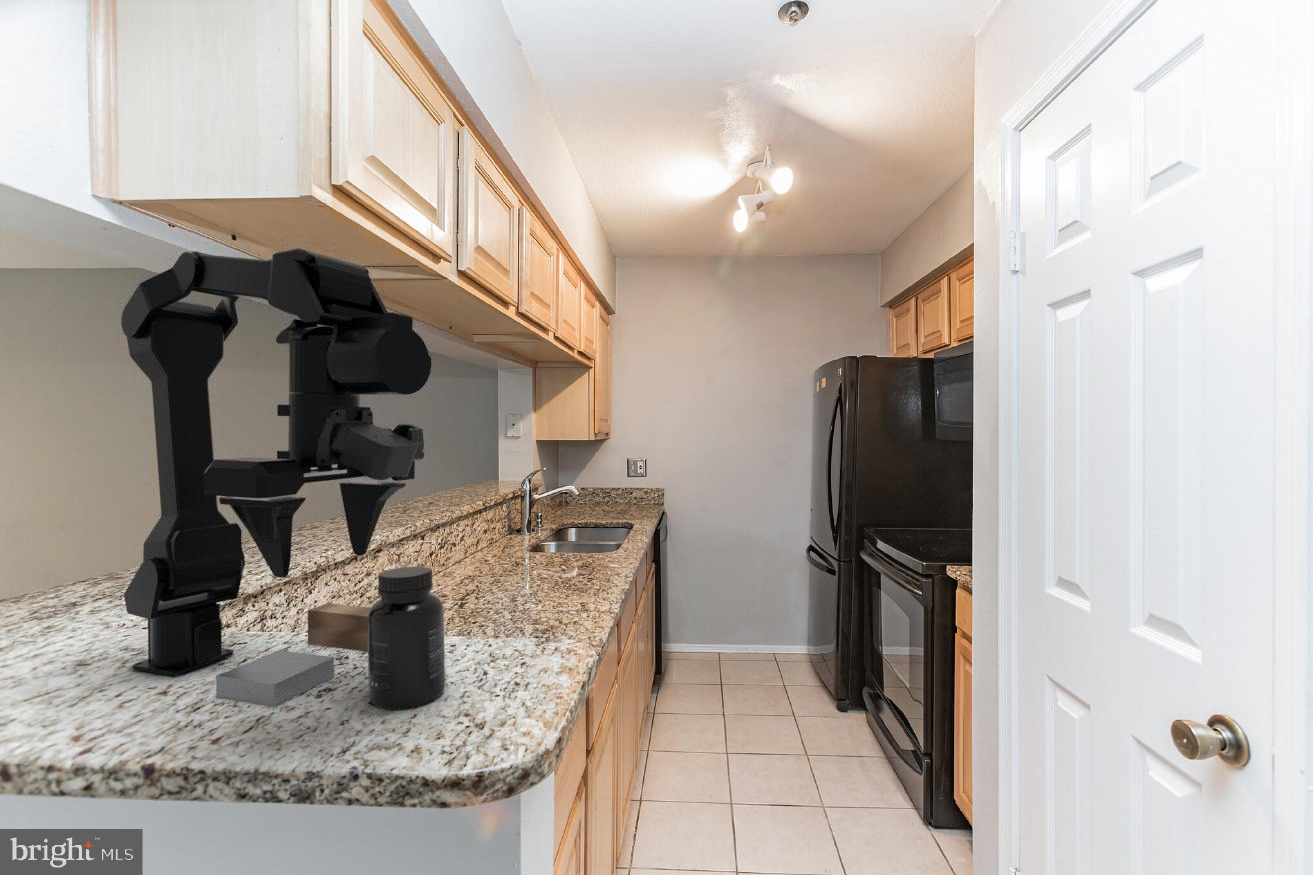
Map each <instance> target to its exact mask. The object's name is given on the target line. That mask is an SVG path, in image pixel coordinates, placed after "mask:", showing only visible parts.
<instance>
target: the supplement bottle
mask: <svg viewBox="0 0 1313 875" xmlns="http://www.w3.org/2000/svg"><path fill="white" fill-rule="evenodd" d="M377 578H378V589H377V594H378V596H380V598H379V599H378V600H376V601H375V602H374V603H372V605H371V606H370V610H369V612H368V617H367V618H368V619H367V626H368V651H367V662H368V663H367V664H368V696H369V700H370V703H372V704H373V705H374V706H375V707H377V708H379V709H385V710H404V709H410V708H415V707H418V706H422V705H425V704H427V703H429V702H431V701H433V700H435V699H436V698H437V697H439V696H440V695H441V693H442V692H443V691H444V689H445V685H446V681H445V680H446V659H445V658H446V655H445V611H444V608H445V607H444V603H443V601H442V600H441V599H440V598H439V597H438V596H437V595H435V594H433V593H431V591H432V590H433V589H434V582H433V570H432V568H430V567H428V566H427V567H425V566H404V567H403V566H401V567H397V568H391V569H387V570H384V571H381V572H379V574H378V577H377Z"/></svg>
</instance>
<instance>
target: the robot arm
mask: <svg viewBox="0 0 1313 875" xmlns="http://www.w3.org/2000/svg"><path fill="white" fill-rule="evenodd" d="M369 274H370V272H369V269H368V268H366V267H365V266H363V265H360V264H358V263H354V262H351V261H347V260H343V259H338V258H336V257H333V256H328V255H325V254H322V253H318V252H314V251H309V250H307V249H303V248H292V249H286V250H283V251H277V252H274V253H272V255H271V259H266V260H265V259H256V258H255V259H254V258H245V257H234V256H222V255H215V254H214V255H213V254H209V253H204V252H200V251H196V250H195V251H194V250H193V251H191V252H190V251H185V252H183V253H181V254H180V255H179V257H178V258H177V260H176V261H175V263H174V264H173V266H172V267H170V268H169V269H167V270H165V271H162V272H160V273H157V275H154V276H152V277H150V278H148V279H146V280H143V281H142V282H140V283H139V284H138V285H137V287H136V289H135V291H134V292H133V294H132V295H131V297H130V298H129V300H128V301H127V303H126V304H125V306H124V309H122V310H123V311H122V313H121V318H120V322H121V324H120V325H121V329H122V332H123V334H124V336H125V337H126V339H127V340H126V341H127V345H128V346H127V347H128V353H129V356H130V359H132V361H134V363H135V365H137V366H138V368H140V370H141V371H142V372H143V373H144V375H145V376H146V377H147V378H148V380H149V381H150V382H151V389H152V390H151V392H152V394H151V395H152V403H153V405H152V407H153V408H152V409H153V416H154V417H153V419H154V433H155V445H156V460H157V472H158V475H157V476H158V487H159V499H160V500H159V501H160V518H159V519H158V521H156V524H154V527H153V528H152V529H151V531H150V533H149V534H148V536H147V538H146V539H145V540H144V542H143V551H142V553H143V558H142V560H143V562H142V563H141V564H140V566H139V567H138V570H136V573H135V574H134V576H133V578H132V580H131V581H130V583H129V584H128V586H127V588H126V590H125V591H124V594H123V596H124V603H125V608H126V613H127V614H128V615H132V616H136V617H139V618H143V619H146V620H147V649H148V650H147V659H144V660H141V661H138V662H136V663H133V664H132V670H134V671H140V672H148V673H154V674H160V675H161V674H162V675H167V676H180V675H182V674H185V673H188V672H190V671H193V670H195V669H198V668H201V667H203V666H206V665H208V664H211V663H215V662H218V661H219V660H222V659H224V658H227V657H230V656H232V655H234V649H232V648H223V647H222V646H223V641H222V640H223V639H222V638H223V636H222V633H223V632H222V628H223V626H222V625H223V624H222V619H221V604H220V603H221V602H225V601H233V600H237V599H238V596H239V593H240V592H239V591H240V587H241V584H242V578H243V574H244V569H245V564H246V560H245V557H246V556H245V554H244V552H243V546H242V544H243V543H242V538H243V537H242V528H241V526H240V525H239V524H238V523H236V522H233V523H230V522H229V521H228V519H226V517H225V516H224V515H223V514H222V513H221V511H220V510H219V506H218V505H219V504H220V505H225V506H227V505H228V506H229V507H230V508H231V509H232V511H233V512H234V514H235V515H236V516H237V517H238V519H239V520H240V522H241V523H242V524H243V526H244V527H245V529H246V530H247V532H248V533H249V536H251V538H252V540H253V541H254V543H255V545H256V546H257V548H258V551H259V552H260V554H261V555H262V557H263V559H264V561H265V563H266V564H267V566H268V568H269V570H270V571H271V573H272V575H273V576H274V577H275V578H280V579H282V578H283V579H284V578H286V577H288V576H289V571H290V566H291V565H290V564H291V557H292V538H293V537H292V536H293V535H292V534H293V517H294V515H295V514H296V513H297V511H298V510H299V508H301V506H302V505H303V504H304V502H305V501H306V497H300V496H299V497H297V496H295V495H297V494H298V492H299V491H300V490H301V488H302V487H303V486H304V485H305V484H309V483H311V484H312V483H317V482H327V481H335V480H345V479H350V480H349V481H346V482H339V489H340V494H341V499H342V504H343V505H342V506H343V509H344V515H345V520H346V525H347V530H348V531H347V532H348V537H349V542H350V545H351V548H352V551H353V554H354V555H356V556H364V555H366V553H367V551H368V549H369V547H370V546H369V545H370V543H371V541H372V537H373V535H374V532H375V531H376V530H375V529H376V526H377V524H378V521H379V518H380V515H381V514H382V512H383V509H384V507H385V504H386V502H387V501H388V499H389V498H391V497H393V495H394V494H396V493H397V492H398V491H399V490H400V489H404V488H405V487H406V486H407V483H406V482H400V481H407V480H414V479H415V477H416V475H415V472H416V471H415V467H416V466H415V465H416V461H420V460H423V459H424V458H425V452H424V448H425V440H424V432H423V431H424V430H423V428H421V427H419V426H417V425H415V424H412V423H399V424H398V425H397V426H395V427H394V429H393V428H389V427H387V428H386V427H385V428H383V427H380V426H378V425H375V424H374V413H373V411H372V410H371V407H369V406H361V396H362V395H363V396H365V395H367V396H368V395H370V396H371V395H375V396H376V395H380V396H381V395H382V396H383V395H389V396H391V395H392V396H393V395H394V396H395V395H396V396H397V395H401V396H403V395H412V394H415V393H416V392H419V391H420V390H422V389H423V387H424V386H425V385H426V383H427V382H428V380H429V378H430V375H431V372H432V371H431V370H432V369H431V368H432V357H431V355H430V354H429V351H428V348H427V345H426V343H425V341H424V340H423V338H422V337H421V336H420V335H419V333H417V332H416V331H415V330H413V320H414V318H413V317H412V315H408V314H403V313H398V312H393V311H392V312H391V311H390V312H388V310H387V308H386V307H385V304H384V303H383V301H382V299H381V297H380V295H379V293H378V291H377V289H376V287H375V286H374V284H373V282H372V280H371V277H370V275H369ZM192 292H195V293H196V292H197V293H203V294H208V295H211V296H212V295H213V296H219V297H221V298H222V299H221V301H219V303H218V304H217V306H216V307H215V309H214V307H212V306H210V305H207V304H203V303H198V302H197V303H196V302H191V301H183V299H184V298H186V297H188V296H189V295H190V294H191V293H192ZM239 298H246V299H253V300H261V301H265V302H266V301H267V303H268V304H269V305H270V306H271V307H273V308H276V309H278V310H280V311H283V312H285V313H287V314H289V315H293V316H296V317H297V318H299V319H297V318H294V319H292V321H291V323H290V324H289V326H287V327H286V328H285V329H283V330H281V331H280V332H279V333H278V335H276V338H275V341H276V343H277V344H278V345H286V346H289V347H288V349H289V350H288V358H289V359H288V365H289V366H288V404H277V409H276V410H277V411H276V412H277V416H278V417H288V432H287V433H288V435H287V436H288V444H287V446H288V447H287V449H288V450H287V449H285V450H284V449H283V450H276V458H271V457H270V458H269V457H268V458H267V457H238V458H221V459H219V458H218V459H215V454H214V443H213V430H212V418H211V405H210V393H209V392H210V390H209V379H210V377H211V376H212V374H213V373H214V372H215V370H216V368H217V366H218V365H219V364H220V362H221V361H222V359H223V358H224V351H225V350H224V349H225V348H224V347H225V346H224V344H225V341H226V340H227V338H228V337H229V336H230V334H231V333H232V332H233V330H234V329H235V328H236V327H237V326H238V323H239V318H238V313H237V308H236V302H237V301H238V299H239ZM333 465H334V466H333ZM336 465H337V466H336ZM396 481H397V482H396ZM293 495H294V496H293ZM218 502H219V504H218Z"/></svg>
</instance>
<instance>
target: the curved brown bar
mask: <svg viewBox="0 0 1313 875" xmlns="http://www.w3.org/2000/svg"><path fill="white" fill-rule="evenodd" d="M370 608H371V606H370V607H369V606H359V605H349V604H340V603H325V604H322V605H319V606H316V607H313V608H310V609H307V644H308V645H318V646H323V647H324V646H325V647H333V648H341V649H349V650H357V651H364V652H365V651H366V652H368V626H367V619H368V618H367V617H368V612H369V610H370Z"/></svg>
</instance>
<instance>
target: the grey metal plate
mask: <svg viewBox="0 0 1313 875" xmlns="http://www.w3.org/2000/svg"><path fill="white" fill-rule="evenodd" d="M215 677H216V679H215V680H216V681H215V682H216V685H215V687H216V688H215V690H216V691H215V692H216V697H215V698H216V699H223V700H227V701H233V702H240V703H247V704H253V705H257V706H258V705H259V706H265V707H272V708H276V707H278V706H280V705H283V703H286V702H287V701H290V700H292V699H294V698H296V697H298V696H300V695H302V694H304V693H306V692H308V691H310V690H312V689H313V687H314V688H316V687H317V685H318V686H319V684H320V685H321V683H322V684H324V683H325V681H326V682H327V681H330V680H331V679H333V678H335V657H334V656H328V655H321V654H315V653H308V652H307V653H305V652H299V651H298V652H296V651H290V650H282V649H279V650H277V651H274V652H272V653H269V654H267V655H264V656H262V657H259V658H257V659H255V660H252V661H248V662H247V663H244V664H242V665H240V666H237V667H234V668H231V669H230V670H227V671H224V672H222V673H219V674H218V675H215ZM323 682H324V683H323ZM311 688H312V689H311ZM309 689H310V690H309ZM307 690H308V691H307ZM303 692H304V693H303ZM299 694H300V695H299ZM295 696H296V697H295ZM289 699H290V700H289Z"/></svg>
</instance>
